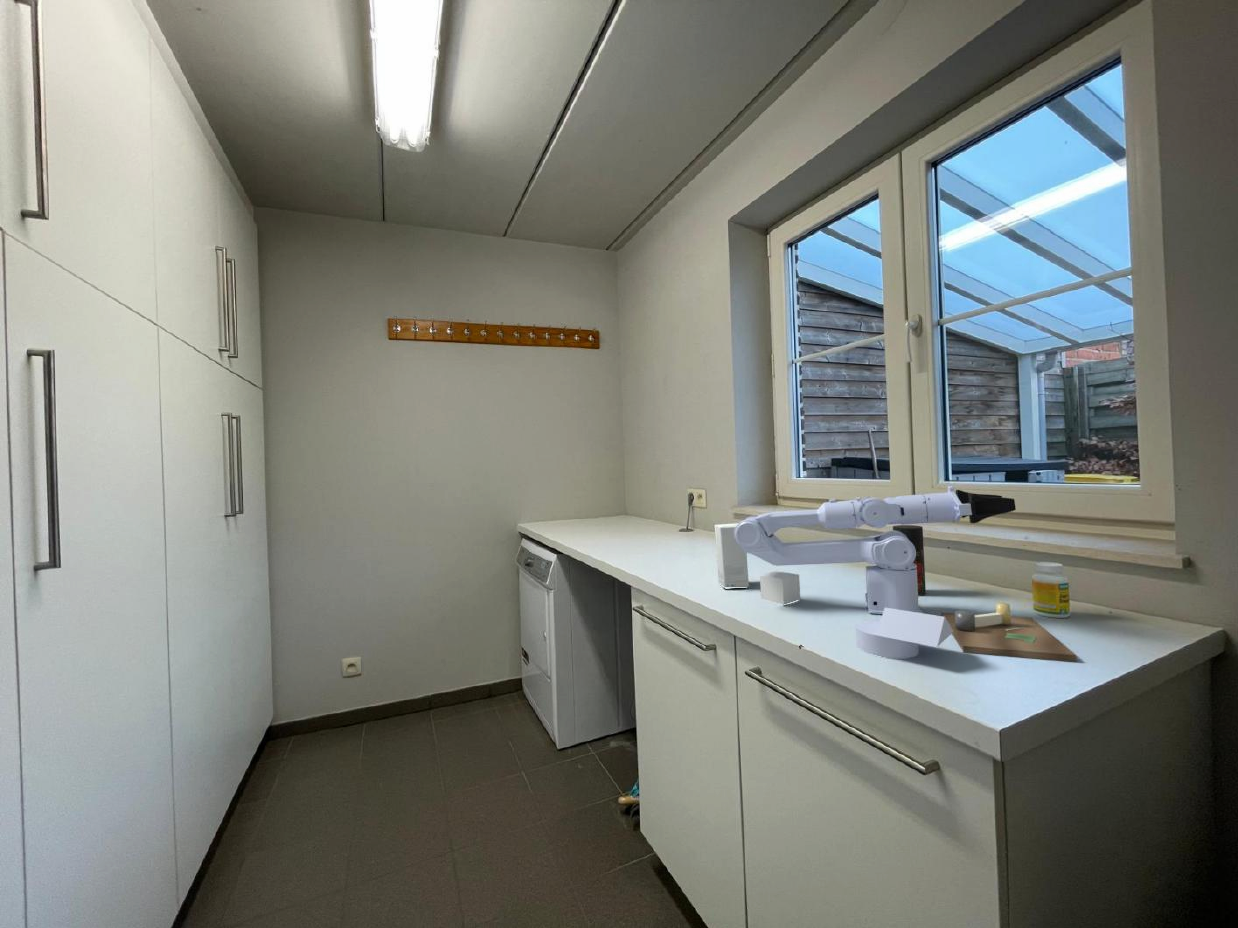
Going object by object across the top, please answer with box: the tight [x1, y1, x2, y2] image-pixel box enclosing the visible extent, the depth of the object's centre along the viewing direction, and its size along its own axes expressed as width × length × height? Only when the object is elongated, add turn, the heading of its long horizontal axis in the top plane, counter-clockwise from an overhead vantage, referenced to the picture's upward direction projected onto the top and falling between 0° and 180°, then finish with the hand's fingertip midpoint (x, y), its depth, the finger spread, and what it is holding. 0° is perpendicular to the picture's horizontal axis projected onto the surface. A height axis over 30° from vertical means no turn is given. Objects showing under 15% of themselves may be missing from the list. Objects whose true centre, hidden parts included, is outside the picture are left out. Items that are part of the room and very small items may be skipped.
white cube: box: [759, 570, 801, 605], centre depth 115 cm, size 6×6×6 cm
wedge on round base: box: [855, 608, 954, 660], centre depth 82 cm, size 9×7×13 cm
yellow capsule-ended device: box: [954, 602, 1012, 631], centre depth 89 cm, size 10×3×3 cm, turn 102°
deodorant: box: [892, 524, 927, 597], centre depth 117 cm, size 6×6×15 cm
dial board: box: [940, 611, 1078, 663], centre depth 87 cm, size 14×19×1 cm
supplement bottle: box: [1031, 561, 1071, 619], centre depth 97 cm, size 5×5×10 cm
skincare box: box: [714, 522, 750, 588], centre depth 131 cm, size 8×7×16 cm
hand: (1008, 502), depth 96 cm, fingers open, 7 cm apart
